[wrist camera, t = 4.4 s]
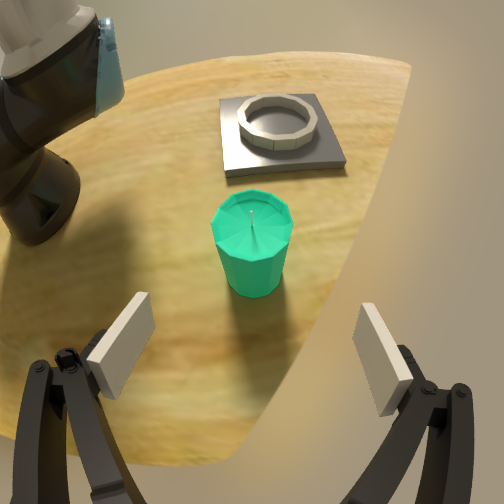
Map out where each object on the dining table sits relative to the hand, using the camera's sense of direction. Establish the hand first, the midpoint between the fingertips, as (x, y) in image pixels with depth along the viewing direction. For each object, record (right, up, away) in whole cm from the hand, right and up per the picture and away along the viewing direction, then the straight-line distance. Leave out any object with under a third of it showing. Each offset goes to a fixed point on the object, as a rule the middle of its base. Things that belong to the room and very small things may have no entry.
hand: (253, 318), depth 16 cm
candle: (0, +2, +14) cm, 14 cm away
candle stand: (+4, +22, +22) cm, 31 cm away
